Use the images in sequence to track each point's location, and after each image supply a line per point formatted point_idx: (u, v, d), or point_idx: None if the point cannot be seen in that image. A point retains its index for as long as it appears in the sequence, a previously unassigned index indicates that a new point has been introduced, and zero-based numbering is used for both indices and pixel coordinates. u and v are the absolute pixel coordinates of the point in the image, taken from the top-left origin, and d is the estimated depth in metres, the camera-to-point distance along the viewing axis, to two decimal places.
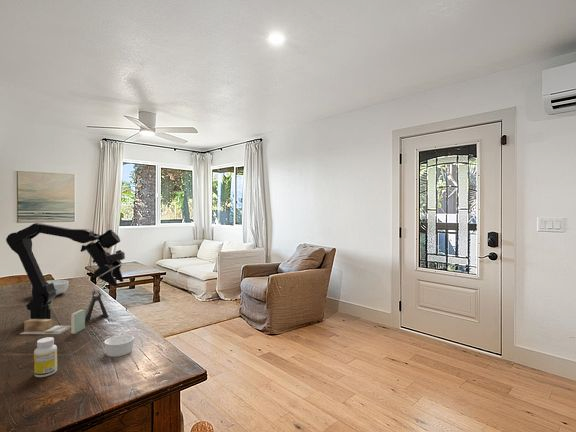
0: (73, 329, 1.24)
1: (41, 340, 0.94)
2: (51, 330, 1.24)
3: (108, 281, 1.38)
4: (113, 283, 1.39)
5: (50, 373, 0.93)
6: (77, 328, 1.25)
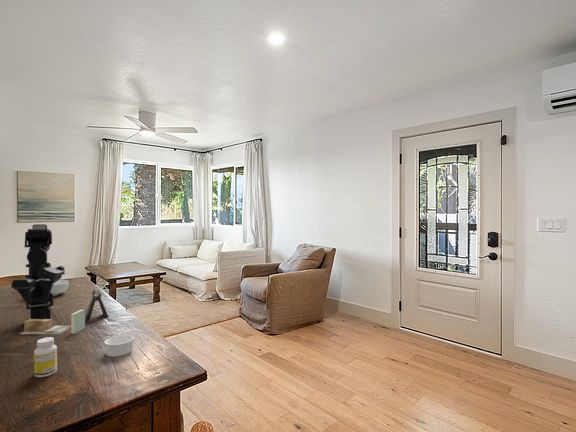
0: (73, 329, 1.24)
1: (41, 340, 0.94)
2: (51, 330, 1.24)
3: (23, 296, 1.20)
4: (27, 300, 1.21)
5: (50, 373, 0.93)
6: (77, 328, 1.25)
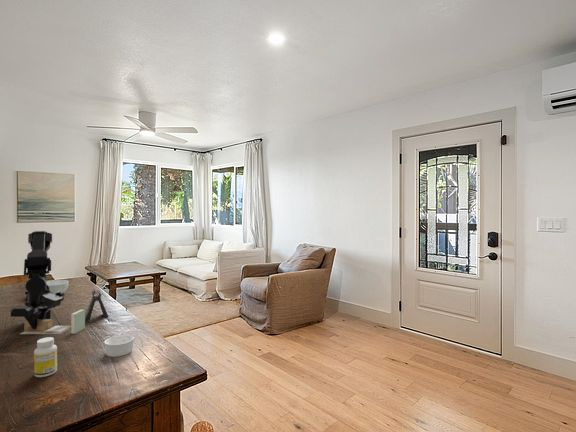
0: (73, 329, 1.24)
1: (41, 340, 0.94)
2: (51, 330, 1.24)
3: (29, 321, 1.24)
4: (32, 325, 1.24)
5: (50, 373, 0.93)
6: (77, 328, 1.25)
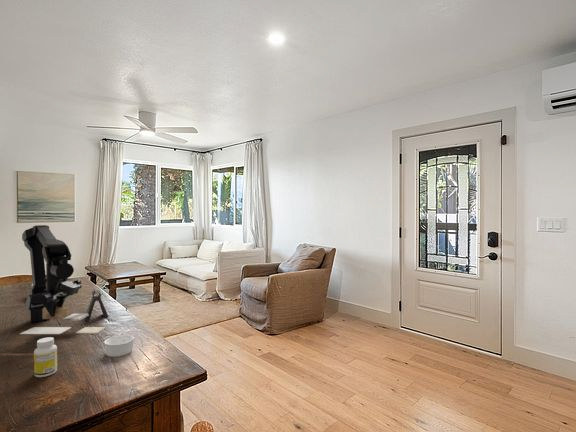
0: None
1: (41, 340, 0.94)
2: (69, 317, 1.24)
3: (47, 308, 1.24)
4: (51, 312, 1.24)
5: (50, 373, 0.93)
6: None
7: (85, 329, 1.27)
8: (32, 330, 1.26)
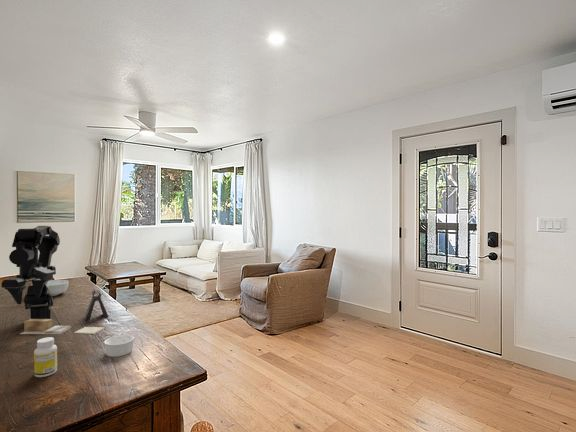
0: None
1: (41, 340, 0.94)
2: (51, 330, 1.24)
3: (13, 295, 1.20)
4: (17, 300, 1.21)
5: (50, 373, 0.93)
6: None
7: (84, 329, 1.27)
8: None
